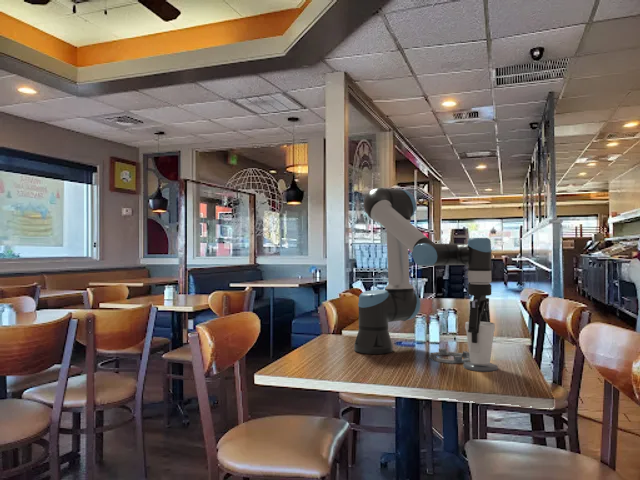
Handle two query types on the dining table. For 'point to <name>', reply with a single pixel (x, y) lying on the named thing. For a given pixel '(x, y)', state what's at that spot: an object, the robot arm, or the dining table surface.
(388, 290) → the robot arm
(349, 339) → the dining table surface
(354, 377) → the dining table surface
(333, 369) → the dining table surface
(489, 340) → the foam cup
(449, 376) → the dining table surface
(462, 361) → the collar
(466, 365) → the coaster
